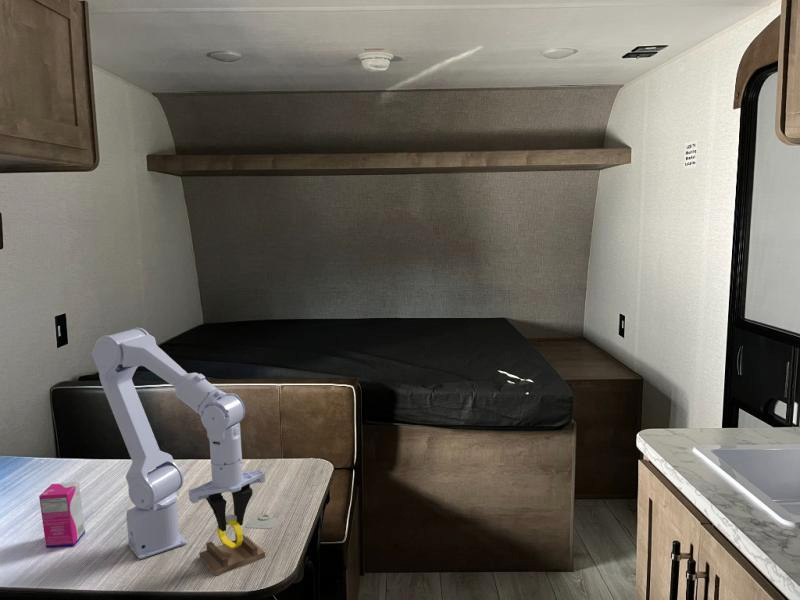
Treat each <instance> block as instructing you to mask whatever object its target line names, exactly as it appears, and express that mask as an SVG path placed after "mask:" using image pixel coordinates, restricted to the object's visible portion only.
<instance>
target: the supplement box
mask: <svg viewBox="0 0 800 600" xmlns="http://www.w3.org/2000/svg"><path fill="white" fill-rule="evenodd" d="M38 498H39V505H40V513H41V520H42V528H43V535H44V543H45V548H47V549H48V548H50V549H51V548H64V547H65V548H66V547H70V548H71V547H75V546H76V545H77V544H78V542H79V541H80V540H81V538H83V536H84V535H85V534H86V529H85V520H84V513H83V506H82V499H81V498H82V496H81V490H80V482H79V481H74V482H63V483H62V482H61V483H51V484H50V485H49V486H48V487H47V488H46V489H45V490H44V491H43V492H42V493H41V494H40V495H38Z"/></svg>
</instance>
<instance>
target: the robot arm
mask: <svg viewBox="0 0 800 600" xmlns="http://www.w3.org/2000/svg"><path fill="white" fill-rule="evenodd" d="M91 356H92V359H93V361H94V365H95V367H96V369H97V372H98V376H99V381H100V383H101V386H102V389H103V391H104V393H105V397H106V399H107V401H108V404H109V406H110V409H111V412H112V414H113V416H114V419H115V421H116V424H117V427H118V429H119V432H120V434H121V436H122V439H123V442H124V444H125V446H126V448H127V452H128V454H129V457H130V459H131V465H130V467H129V469H128V471H127V473H126V475H125V479H126V481H127V484H128V485H127V486H128V490H127V491H128V496H129V499H130V501H131V503H132V504H133V505H134V507H132V508H129V509H127V511H126V529H127V537H128V538H127V540H128V541H127V545H128V546H129V547H130V550H132V552H133V553H134V554H135V556H136V557H137V558H138V560H142V559H145V558H149V557H151V556H154V555H157V554H160V553H163V552H166V551H169V550H172V549H175V548H177V547H180V546H183V545H186V544H187V543H188V541H187V539H186V538H185V537H184V536H183V535H182V534H181V533H180V526H179V525H180V524H179V523H180V522H179V512H178V511H179V509H178V497H179V490H180V489H181V488H182V487H183V484H184V482H185V479H184V473H183V471H182V469H181V468H180V466H178V464H176V462H175V460H174V458H173V455H171V454H169V453H168V452H164V451H162V450H161V449H160V447H159V445H158V441H157V439H156V437H155V434H154V432H153V430H152V429H153V428H152V427H151V423H150V422H149V420H148V417H147V414H146V412H145V409H144V407H143V404H142V402H141V399H140V397H139V394H138V392H137V389H136V387H135V383H134V382H133V376H134V374H135V372H136V370H137V369H138V367H144V368H146V369H147V370H149V371H150V372H152V373H154V374H155V375H156V376H157V377H159V378H161V379H162V380H164V381H165V382H167V383H168V384H170V385H171V386H172V387H174V389H175V390H174V391H175V396H176V397H177V398H178V399H179V400H181V402H183V403H184V404H185V405H186V406H188V407H189V408H190V409H191V410H193V411H195V412H196V413H197V414H198V415H199V416H200V421H201V423H202V425H203V427H204V428H205V430H206V435H207V438H208V440H209V449H210V450H209V451H210V452H209V453H210V467H211V468H210V469H211V480H209V481H207V482H205V483H203V484H202V485H200V486H198V487H195V488H192V489H189V490H188V499H189V501H190V502H191V503H192V505H193V504H196V503H197V504H198V502H199V501H200V500H206V501H207V503H208V505H209V506H210V509H212V512H213V514H214V517H215V519H216V522H217V528H218V527H219V529H220V530H221V531H225V532H226V531H227V525H226V517H225V516H226V511H227V510H226V507H227V502H228V501H227V500H226V499H225V498H224V495H223V494H224V493H228V492H229V493H231V497H232V501H233V502H232V503H233V515H236V516H237V522H238V523H239V525H240V527H241V526H243V524H244V518H245V513H246V509H247V507H248V505H249V502H250V500H251V498H252V496H253V491H254V490H253V489H252V487H251V486H250V485H254V484H257V483H259V484H262V483H265V482H266V475H265V474H266V473H265V471H263V470H262V469H258V470H253V471H247V472H243V455H242V438H241V424H240V423H241V421H242V420H243V419H244V418H245V416H246V406H245V404H244V402H243V400H242V399H241V398H240V397H239V396H238V394H236V393H233V392H231V393H226V392H225V391H223V390H221V389H219V388H217V387H216V386H214V384H212V383H211V382H209V381H208V380H207V379H206V376H205V375H204V374H202V373H198V372H189V373H188V372H187V371H186V370H185V369H183V368H182V367H181V365H179V364H178V363H177V362H176V361H175V360H174V359H172V357H170V356H169V354H167V353H166V352H165V351H164V350H163V349H162V348H160V347H159V346H158V345H157V342H156V338H155V337H154V336H153V335H151V334H149V332H148V331H147V330H145V329H144V328H142V327H133V328H131V329H130V330H124V331H121V332H117V333H114V334H110V335H102V336H101V337H99V338H98V339H97V340H96V342H95V344H94V346H93V349H92V351H91Z"/></svg>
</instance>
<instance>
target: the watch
mask: <svg viewBox="0 0 800 600" xmlns="http://www.w3.org/2000/svg"><path fill="white" fill-rule="evenodd" d="M225 517H226V526H227V525H228V526H231V527H232V528H233V530H234V534H235V533H236V537H237V542H236V544H235V543H233V542H232V541H231V540H229V538H228V537H227V535H226V531H221V530H220V529H219V527H218V526H217V533H218V537H219V540H220V542H221V543H222V545H223V544H224V545H226V546H228V547H230V548H231V549H234V548H236V547H238V546H240V545H241V544H242V541H243V535H244V532H243V529H242V527H241V526H240V525H239V523H238V522H237V516H236V515H234V514H230V513H229V514H225Z"/></svg>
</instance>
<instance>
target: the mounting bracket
mask: <svg viewBox="0 0 800 600" xmlns="http://www.w3.org/2000/svg"><path fill="white" fill-rule="evenodd" d="M263 517H264V518H263ZM278 519H279V517H272V516H271V514H269V513H263V514H259V516H258V517H257V518H250V519H249V520H248V521H247V523H246V524H245V525H244V527H245V528H247V529H261V530H262V529H265V530H267V529H272V528H273V527H274V525H275V523H276V522H277V520H278Z"/></svg>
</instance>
